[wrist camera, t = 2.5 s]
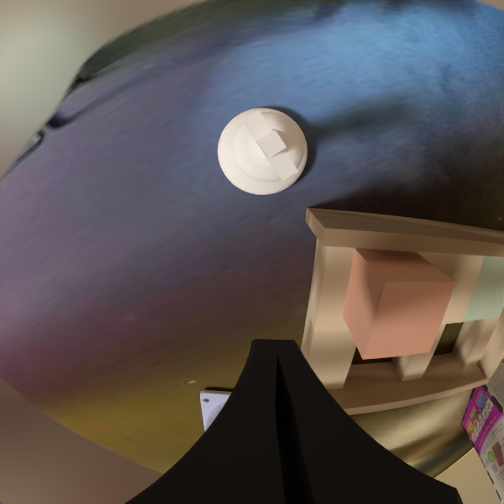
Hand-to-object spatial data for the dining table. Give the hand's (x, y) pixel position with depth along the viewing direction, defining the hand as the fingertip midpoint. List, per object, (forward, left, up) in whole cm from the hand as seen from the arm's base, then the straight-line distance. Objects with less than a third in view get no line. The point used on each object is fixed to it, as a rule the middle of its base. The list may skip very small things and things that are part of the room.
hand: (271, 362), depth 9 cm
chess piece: (+6, +1, -9) cm, 11 cm away
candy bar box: (-17, -29, -9) cm, 35 cm away
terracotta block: (0, -6, -6) cm, 9 cm away
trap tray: (-3, -11, -9) cm, 15 cm away
